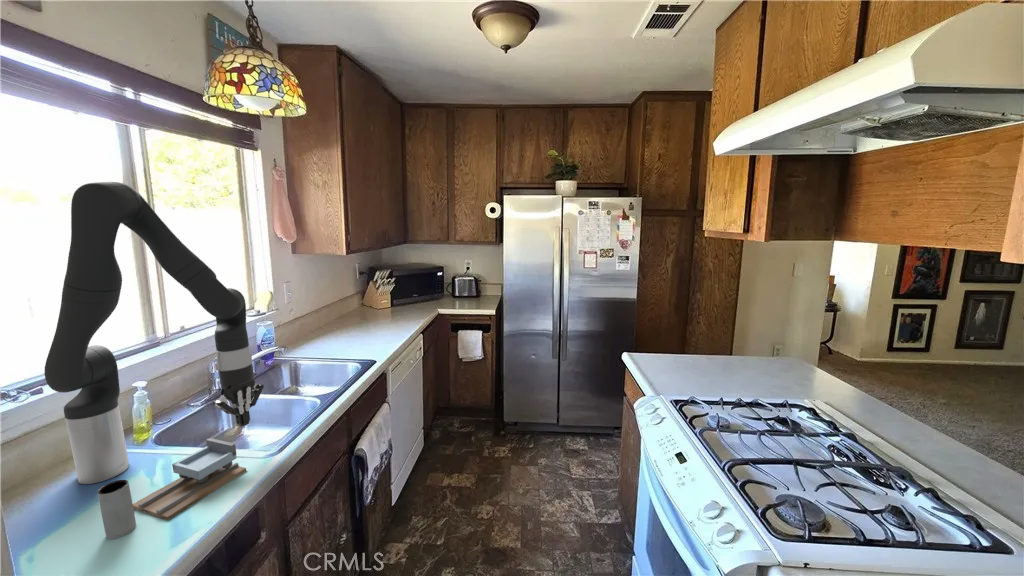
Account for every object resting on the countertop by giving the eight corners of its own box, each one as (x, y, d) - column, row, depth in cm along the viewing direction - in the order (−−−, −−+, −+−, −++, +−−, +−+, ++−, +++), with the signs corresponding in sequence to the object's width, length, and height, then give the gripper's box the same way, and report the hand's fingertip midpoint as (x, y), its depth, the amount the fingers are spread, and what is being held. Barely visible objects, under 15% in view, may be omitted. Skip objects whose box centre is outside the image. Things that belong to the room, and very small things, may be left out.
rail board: (131, 507, 89) (130, 501, 88) (213, 462, 106) (212, 456, 105) (167, 520, 85) (166, 513, 85) (246, 470, 102) (245, 465, 102)
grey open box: (174, 479, 95) (171, 457, 94) (212, 458, 104) (210, 437, 103) (200, 487, 93) (197, 464, 92) (237, 465, 101) (235, 443, 100)
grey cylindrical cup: (117, 540, 80) (108, 495, 78) (100, 537, 80) (91, 492, 79) (142, 524, 84) (134, 480, 82) (125, 521, 85) (117, 478, 83)
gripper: (248, 354, 111) (256, 411, 114) (198, 371, 99) (208, 435, 102) (268, 357, 109) (275, 415, 112) (220, 374, 96) (229, 439, 99)
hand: (243, 424), depth 107 cm, fingers closed
